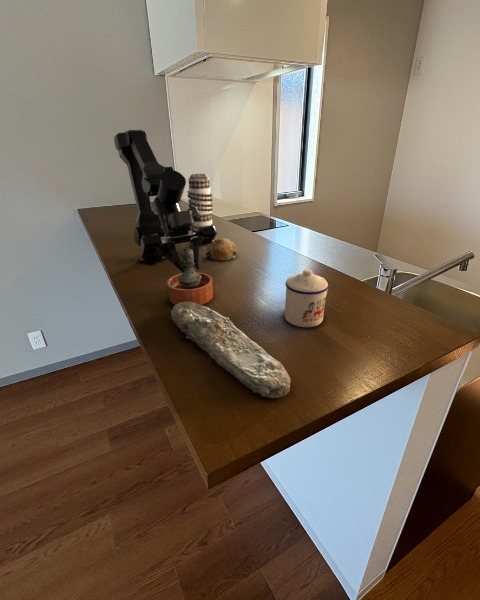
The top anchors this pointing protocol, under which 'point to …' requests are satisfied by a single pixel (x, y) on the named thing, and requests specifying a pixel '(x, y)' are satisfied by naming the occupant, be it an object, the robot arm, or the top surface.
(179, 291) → the bowl
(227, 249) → the bread roll
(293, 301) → the teacup with lid
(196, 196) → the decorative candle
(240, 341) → the elongated rock
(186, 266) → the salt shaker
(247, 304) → the top surface
